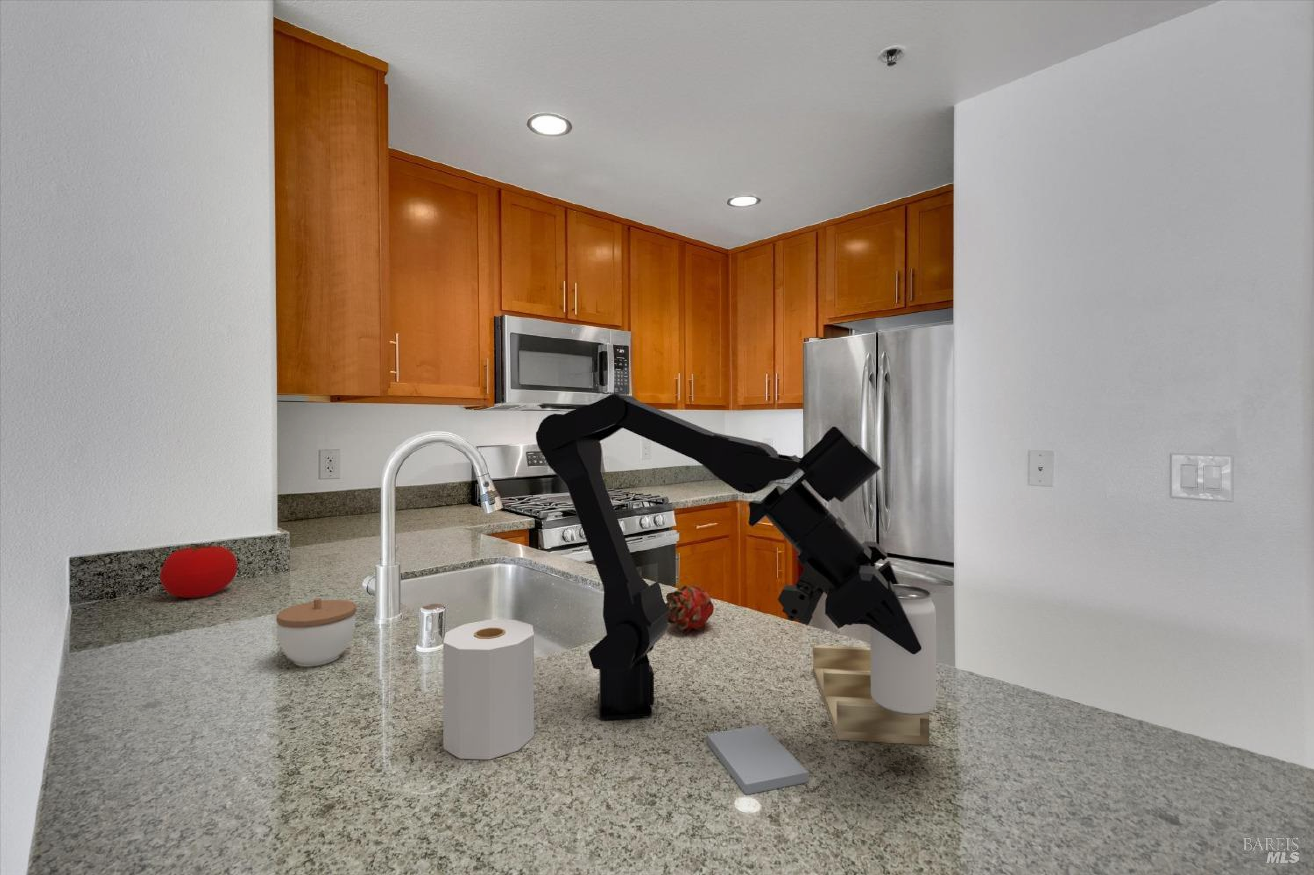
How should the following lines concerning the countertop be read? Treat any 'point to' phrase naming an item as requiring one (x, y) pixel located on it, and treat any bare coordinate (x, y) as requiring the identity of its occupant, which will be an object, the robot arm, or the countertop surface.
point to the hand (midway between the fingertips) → (916, 640)
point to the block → (756, 759)
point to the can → (906, 659)
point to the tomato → (198, 571)
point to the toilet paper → (488, 688)
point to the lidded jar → (316, 631)
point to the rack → (860, 699)
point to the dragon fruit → (689, 608)
